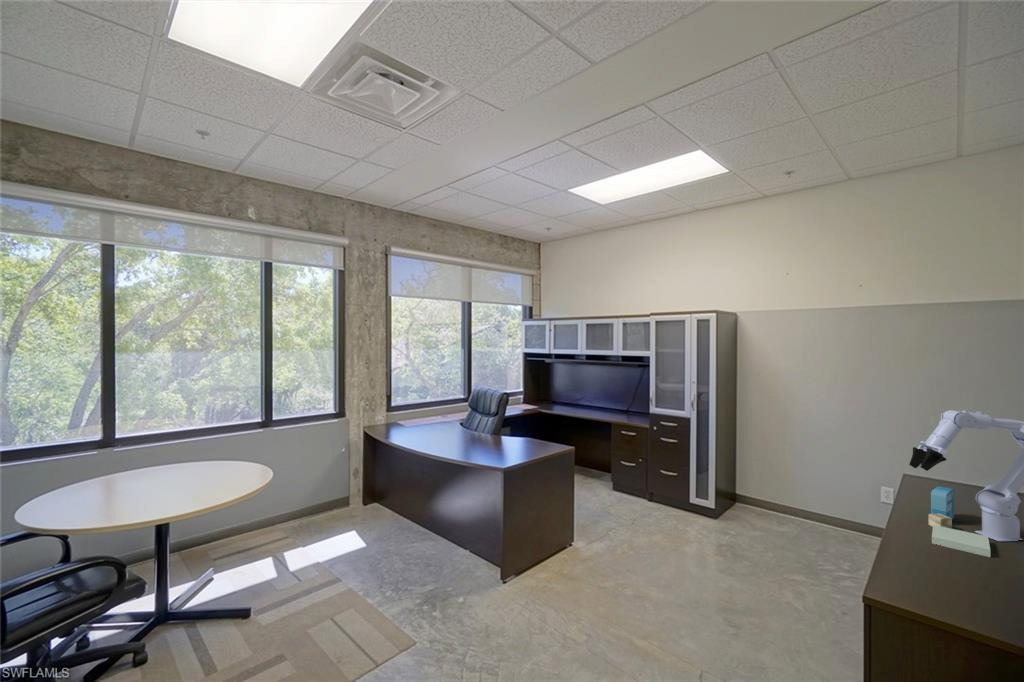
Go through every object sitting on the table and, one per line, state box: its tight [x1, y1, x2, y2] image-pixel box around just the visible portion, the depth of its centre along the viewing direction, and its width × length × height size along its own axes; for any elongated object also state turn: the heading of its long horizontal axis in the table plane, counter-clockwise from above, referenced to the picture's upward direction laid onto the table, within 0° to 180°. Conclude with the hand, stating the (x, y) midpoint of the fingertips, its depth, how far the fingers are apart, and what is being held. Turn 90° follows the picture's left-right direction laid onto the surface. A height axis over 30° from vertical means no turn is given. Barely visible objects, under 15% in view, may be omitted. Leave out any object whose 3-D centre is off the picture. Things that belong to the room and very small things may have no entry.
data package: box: [930, 486, 955, 520], centre depth 175 cm, size 12×4×12 cm, turn 124°
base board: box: [931, 525, 991, 558], centre depth 154 cm, size 14×14×2 cm
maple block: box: [928, 513, 953, 529], centre depth 167 cm, size 4×4×4 cm
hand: (917, 467), depth 162 cm, fingers open, 7 cm apart
